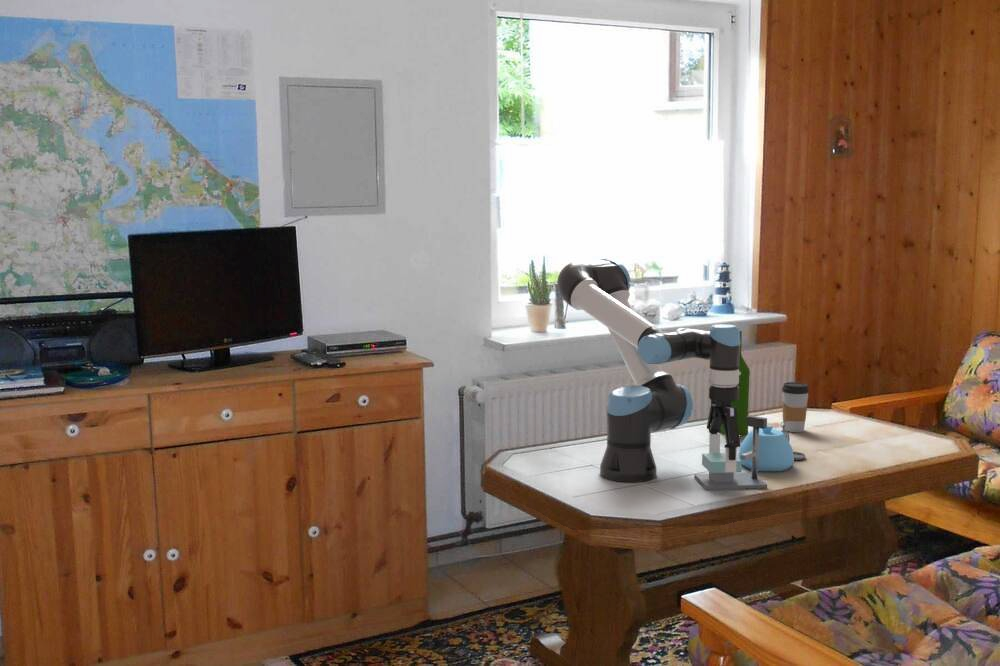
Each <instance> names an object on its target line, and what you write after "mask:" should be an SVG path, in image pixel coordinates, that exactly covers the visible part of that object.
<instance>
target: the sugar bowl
mask: <svg viewBox="0 0 1000 666" xmlns="http://www.w3.org/2000/svg"><path fill="white" fill-rule="evenodd" d="M773 428H774V427H773V425H771V424H767V428H764V429H761V428H759V453H758V470H759V471H758V472H762V471H780V472H783V471H782V470H785V471H787V470H788V469H790V468H791V467H792V466H793V464H794V463H795V460H794V455H793V452H794V450H793V447H792V446H791V442H790V441H788V440H787V438H786V436H785V435H784V433H783V432H781V430H777V429H773ZM752 445H753V429H751V430H749V431H748V433H747V435H745V437H744V439H743V441H742V442H741V443H740V447H739V449H738V453H737V455H738V456H737V458H739V459H740V460H741V461H742V465H741V466H743V467H744V466H745V467H744V468H746V467H747V468H746V469H748V468H749V470H751V469H752V458H750V459H747V460H742V459H741V454H744V453H746V452H749V451H752ZM786 469H787V470H786Z"/></svg>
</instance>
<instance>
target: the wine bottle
mask: <svg viewBox="0 0 1000 666" xmlns="http://www.w3.org/2000/svg"><path fill="white" fill-rule="evenodd" d="M742 332H743V331H742V330H740V342H741V344H740V355H739V372H741V375H739V383H738V384H737V386H738V387H739V399H738V400H737V401H733V402H732V408H736V409H737V422H738V430H739V435H744V436H747V435H748V433H749V426H746V416H749V415H750V392H751V389H750V388H751V371H750V368H749V366H748V364H747V363H746V361H745V359H744V358H743V355H742V336H743V334H742ZM720 429H721V433H722V434H721V433H720V434H721V435H723V434H725V433H724V429H723V425H721V428H720ZM746 434H747V435H746Z"/></svg>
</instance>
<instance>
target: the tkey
mask: <svg viewBox="0 0 1000 666" xmlns="http://www.w3.org/2000/svg"><path fill="white" fill-rule="evenodd" d="M767 425H768V418H767V417H762V416H756V415H752V414H749V416H746V426H748V427H752V430H753V445H752V451H749V452H746V453H744V454H741V459H742V460H747V459H750V458H752V470H751V472H750V473H751V478H753V479H757V478H758V477H759V476H758V475H759V471H758V453H759V429H760V428H761V429H764V428H767Z"/></svg>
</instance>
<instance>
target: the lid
mask: <svg viewBox="0 0 1000 666" xmlns="http://www.w3.org/2000/svg"><path fill="white" fill-rule="evenodd" d="M701 455H702V456H701V465H702V466H703V467H704V468H705V469H706V470H707V471H708V473H709V472H710V473H742V466H743V465H742V461H741V460H740V459H739V458H738V457H737V460H736V472H725V452H720V453H708V452H707V453H706V452H705V453H701Z"/></svg>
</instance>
